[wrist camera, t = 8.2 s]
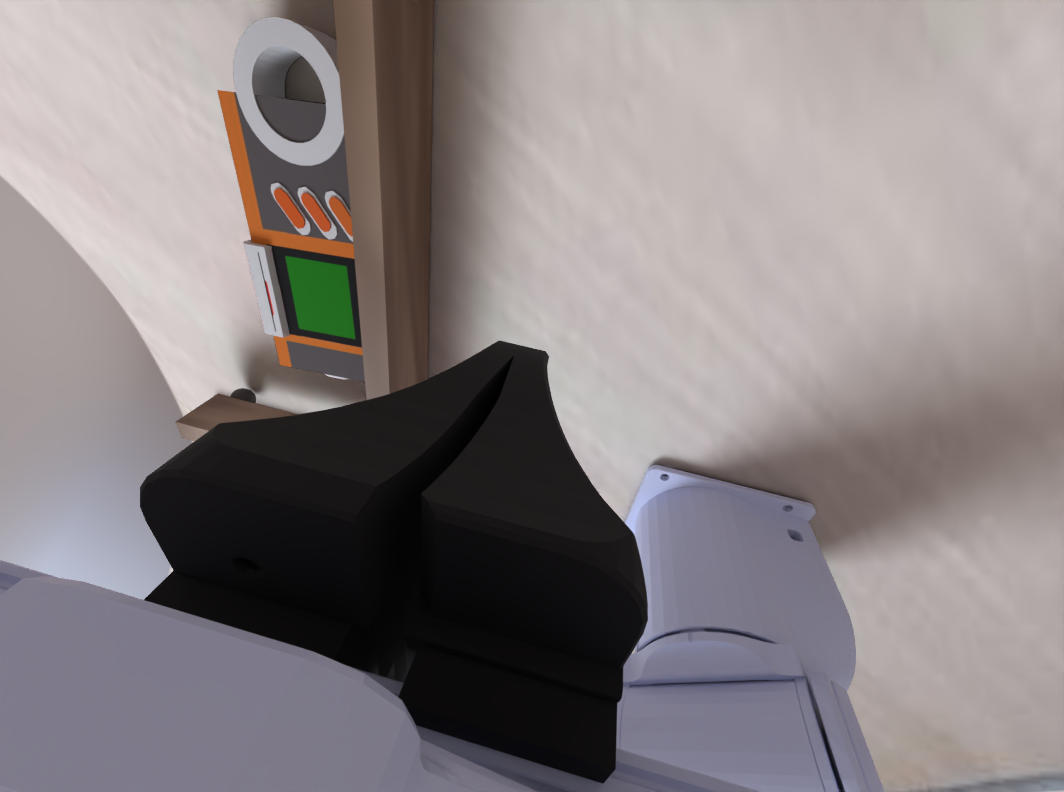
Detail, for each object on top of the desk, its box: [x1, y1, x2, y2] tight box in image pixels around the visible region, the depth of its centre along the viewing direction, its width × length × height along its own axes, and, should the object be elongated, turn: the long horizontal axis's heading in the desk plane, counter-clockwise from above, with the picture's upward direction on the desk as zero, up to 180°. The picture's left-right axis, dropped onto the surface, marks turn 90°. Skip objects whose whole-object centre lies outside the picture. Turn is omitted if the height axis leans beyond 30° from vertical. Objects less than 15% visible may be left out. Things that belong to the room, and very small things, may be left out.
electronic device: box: [217, 17, 365, 382], centre depth 20 cm, size 7×3×15 cm
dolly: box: [176, 0, 434, 441], centre depth 20 cm, size 13×23×4 cm, turn 171°
